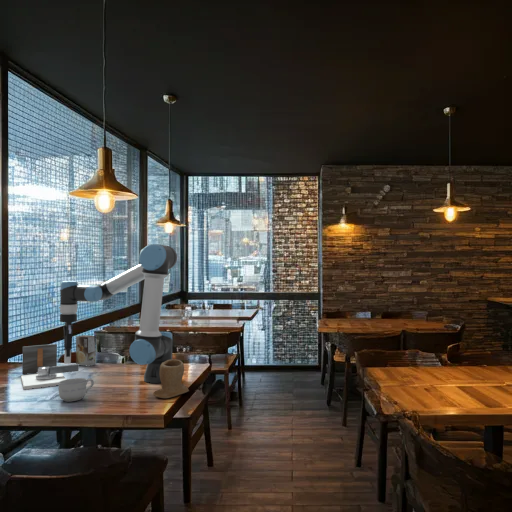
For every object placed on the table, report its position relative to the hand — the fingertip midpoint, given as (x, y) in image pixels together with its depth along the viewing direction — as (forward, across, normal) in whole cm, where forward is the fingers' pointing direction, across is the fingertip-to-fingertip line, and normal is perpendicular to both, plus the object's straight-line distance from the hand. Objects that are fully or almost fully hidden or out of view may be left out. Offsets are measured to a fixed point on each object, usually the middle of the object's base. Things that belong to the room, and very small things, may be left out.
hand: (67, 363), depth 216 cm
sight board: (+9, -28, -10) cm, 31 cm away
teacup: (+9, +33, -1) cm, 35 cm away
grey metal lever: (+7, -7, -4) cm, 10 cm away
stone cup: (+8, +49, +35) cm, 61 cm away
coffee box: (+9, -37, +14) cm, 40 cm away
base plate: (+9, -7, -10) cm, 15 cm away
